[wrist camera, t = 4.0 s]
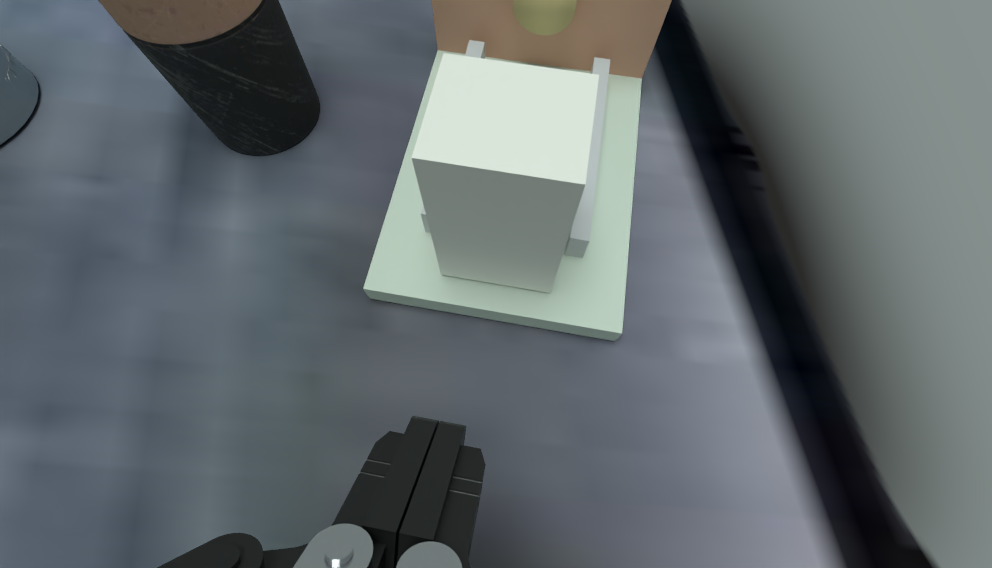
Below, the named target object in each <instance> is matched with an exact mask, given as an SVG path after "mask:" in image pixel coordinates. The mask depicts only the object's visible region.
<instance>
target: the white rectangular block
mask: <svg viewBox="0 0 992 568" xmlns="http://www.w3.org/2000/svg"><path fill="white" fill-rule="evenodd" d="M598 81H599V75H597V74H590V73H583V72H576V71H569V70H562V69H555V68H547V67H540V66H533V65H526V64H519V63H512V62H504V61H497V60H490V59H483V58H476V57H469V56H461V55H454V54H447V53H443V56H442V60H441V63H440V66H439V69H438V73H437V76H436V79H435V82H434V86H433V89H432V92H431V96H430V99H429V102H428V105H427V109H426V112H425V115H424V118H423V122H422V125H421V128H420V132H419V135H418V138H417V141H416V145H415V148H414V151H413V154H412V162H413V166H414V170H415V174H416V178H417V181H418V185H419V189H420V193H421V197H422V201H423V205H424V209H425V213H426V217H427V221H428V225H429V229H430V233H431V236H432V240H433V244H434V248H435V252H436V256H437V260H438V264H439V268H440V272H441V275H447V276H453V277H459V278H465V279H471V280H477V281H482V282H488V283H494V284H500V285H506V286H512V287H518V288H524V289H530V290H536V291H541V292H547V293H551V290H552V287H553V284H554V280H555V277H556V274H557V271H558V268H559V265H560V262H561V259H562V256H563V253H564V250H565V246H566V243H567V240H568V237H569V234H570V231H571V228H572V225H573V222H574V219H575V215H576V212H577V209H578V206H579V203H580V200H581V197H582V194H583V191H584V188H585V184H586V176H587V168H588V160H589V152H590V144H591V136H592V128H593V120H594V113H595V105H596V97H597V89H598Z"/></svg>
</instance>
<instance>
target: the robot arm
mask: <svg viewBox="0 0 992 568" xmlns="http://www.w3.org/2000/svg"><path fill="white" fill-rule="evenodd" d="M38 92H39V90H38V84H37V81H36V79H35V77H34V75H33V74H32V73H31V72H30V71H29V70H28V69H27V68H26V67H25V66H23V65H22V64H21V63H20V62H19V61H18V60H17V59H16V58H14V57H13V56H12V54H11V53H10V52H8V50H7V49H5V48H4V47H3V46H2V45H1V44H0V145H1V144H2V143H3V142H5V141H6V140H7V139H9V138H10V137H11V136H13V135H14V134H15V133H16V132H17V131H18V130H19V129H20V128H21V127H22V126H23V125H24V124H25V122H26V121H27V120H28V118H29V117H30V115H31V114H32V112H33V110H34V108H35V105H36V103H37V99H38ZM465 432H466V426H464V425H459V424H453V423H448V422H443V421H440V423H439V421H437V420H432V419H427V418H422V417H417V416H413V417H412V418H411V420H410V422H409V424H408V426H407V429H406V431H405V433H404V434H402V433H396V432H391V431H389V432H388V433H387V434H386V435H385V436H383V437H382V438H381V439H380V440H378V441H377V442H376V443H375V445H374V447H373V449H372V450H371V452H370V454H369V456H368V458H367V461H366V462H365V464H364V466H363V468H362V469H361V473H360V474H359V475H358V477H357V479H356V481H355V483H354V485H353V486H352V488H351V490H350V492H349V494H348V496H347V498H346V500H345V502H344V504H343V505H342V507H341V509H340V511H339V513H338V515H337V517H336V519H335V521H334V522H333V524H332V525H331V526H330V527H328V528H326V529H324V530H322V531H321V532H319V533H318V534H317V535H316V536H315V537H314V538H313V539H312V540H311V541H310V543H308V544H306V545H303V546H299V547H295V548H288V549H278V550H269V551H263V548H262V546H261V544H260V542H259V541H258V540H257V539H256V538H255V537H253V536H251V535H248V534H244V533H232V534H226V535H223V536H220V537H217V538H215V539H213V540H211V541H209V542H207V543H205V544H203V545H201V546H199V547H197V548H195V549H193V550H191V551H189V552H187V553H185V554H183V555H181V556H179V557H177V558H175V559H173V560H171V561H169V562H167V563H165V564H163V565H161V566H160V567H158V568H470V565H469V560H468V558H469V552H470V547H471V542H472V537H473V532H474V527H475V521H476V516H477V511H478V506H479V500H480V494H481V488H482V482H483V476H484V469H485V462H484V459H483V455H482V452H481V449H478V448H473V447H468V446H464V440H465Z"/></svg>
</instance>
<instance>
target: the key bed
mask: <svg viewBox="0 0 992 568" xmlns="http://www.w3.org/2000/svg"><path fill="white" fill-rule="evenodd" d="M670 3H671V0H432V8H433V16H434V23H435V31H436V39H437V47H438V51H437V55H436V58H435V61H434V64H433V67H432V71H431V74H430V77H429V80H428V83H427V87H426V90H425V93H424V96H423V99H422V103H421V106H420V109H419V112H418V115H417V118H416V122H415V125H414V128H413V131H412V134H411V138H410V141H409V144H408V147H407V150H406V154H405V157H404V160H403V163H402V166H401V170H400V173H399V176H398V179H397V182H396V186H395V189H394V192H393V195H392V198H391V202H390V205H389V208H388V211H387V214H386V217H385V221H384V224H383V227H382V230H381V233H380V237H379V240H378V243H377V246H376V249H375V253H374V256H373V259H372V262H371V265H370V269H369V272H368V275H367V278H366V281H365V285H364V288H363V289H364V291H365V292H366V294H367V295H368V296H369V298H370V299H376V300H381V301H387V302H393V303H399V304H404V305H410V306H416V307H422V308H427V309H433V310H439V311H444V312H450V313H456V314H462V315H467V316H473V317H479V318H485V319H490V320H496V321H502V322H508V323H513V324H519V325H525V326H531V327H536V328H542V329H548V330H554V331H559V332H565V333H571V334H577V335H582V336H588V337H594V338H599V339H605V340H611V341H616V340H617V338H618V337H619V336H620V335H621V334H622V328H623V315H624V302H625V289H626V276H627V263H628V250H629V237H630V224H631V212H632V199H633V186H634V173H635V160H636V147H637V134H638V121H639V109H640V96H641V83H642V77H643V74H644V72H645V69H646V66H647V64H648V61H649V58H650V56H651V53H652V50H653V48H654V45H655V42H656V40H657V37H658V35H659V32H660V29H661V27H662V24H663V21H664V19H665V16H666V13H667V11H668V8H669V6H670ZM443 53H447V54H454V55H461V56H469V57H476V58H483V59H490V60H497V61H504V62H512V63H519V64H526V65H533V66H540V67H547V68H555V69H562V70H569V71H576V72H583V73H590V74H597V75H599V81H598V89H597V97H596V105H595V113H594V120H593V128H592V136H591V144H590V152H589V160H588V168H587V176H586V184H585V188H584V191H583V194H582V197H581V200H580V203H579V206H578V209H577V212H576V215H575V219H574V222H573V225H572V228H571V231H570V234H569V237H568V240H567V243H566V246H565V250H564V253H563V256H562V259H561V262H560V265H559V268H558V271H557V274H556V277H555V280H554V284H553V287H552V290H551V293H547V292H541V291H536V290H530V289H524V288H518V287H512V286H506V285H500V284H494V283H488V282H482V281H477V280H471V279H465V278H459V277H453V276H447V275H441V272H440V268H439V264H438V260H437V256H436V252H435V248H434V244H433V240H432V236H431V233H430V229H429V225H428V221H427V217H426V213H425V209H424V205H423V201H422V197H421V193H420V189H419V185H418V181H417V178H416V174H415V170H414V166H413V162H412V154H413V151H414V148H415V145H416V141H417V138H418V135H419V132H420V128H421V125H422V122H423V118H424V115H425V112H426V109H427V105H428V102H429V99H430V96H431V92H432V89H433V86H434V82H435V79H436V76H437V73H438V69H439V66H440V63H441V60H442V56H443Z"/></svg>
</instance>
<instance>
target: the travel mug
mask: <svg viewBox="0 0 992 568" xmlns="http://www.w3.org/2000/svg"><path fill="white" fill-rule="evenodd" d="M98 1H99V2H100V3H101V4H102V5H103V7H104V8H105V9H106V10H107V12H108V13H109V14H110V15H111V16H112V18H113V19H114V20H115V21H116V23H117V24H118V25H119V26H120V27H121V28H122V29H123V31H124V32H125V33H126V34H127V35H128V37H129V38H130V39H131V40H132V41H133V42H134V43H135V45H136V46H137V47H138V48H139V49H140V50H141V51H142V52H143V54H144V55H145V56H146V57H147V58H148V59H149V60H150V62H151V63H152V64H153V65H154V66H155V67H156V68H157V70H158V71H159V72H160V73H161V74H162V75H163V76H164V78H165V79H166V80H167V81H168V82H169V83H170V84H171V85H172V87H173V88H174V89H175V90H176V91H177V92H178V93H179V95H180V96H181V97H182V98H183V99H184V100H185V101H186V103H187V104H188V105H189V106H190V107H191V108H192V109H193V111H194V112H195V113H196V114H197V115H198V116H199V117H200V118H201V120H202V121H203V122H204V123H205V124H206V125H207V126H208V127H209V129H210V130H211V131H212V132H213V133H214V134H215V135H216V136H217V137H218V138H219V139H220V140H221V141H222V142H223V143H224V144H225V145H226V146H228V147H229V148H231V149H233V150H235V151H237V152H240V153H243V154H248V155H269V154H274V153H278V152H281V151H284V150H286V149H288V148H290V147H292V146H294V145H296V144H297V143H299V142H300V141H301V140H303V139H304V138H305V137H306V136H307V135H308V134H309V133H310V132H311V130H312V129H313V127H314V126H315V124H316V122H317V119H318V116H319V111H320V108H319V99H318V96H317V93H316V90H315V88H314V85H313V83H312V80H311V78H310V75H309V73H308V70H307V68H306V66H305V63H304V61H303V58H302V56H301V54H300V51H299V49H298V46H297V44H296V42H295V39H294V37H293V34H292V32H291V30H290V27H289V25H288V22H287V20H286V17H285V15H284V13H283V10H282V8H281V5H280V3H279V1H278V0H98Z"/></svg>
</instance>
